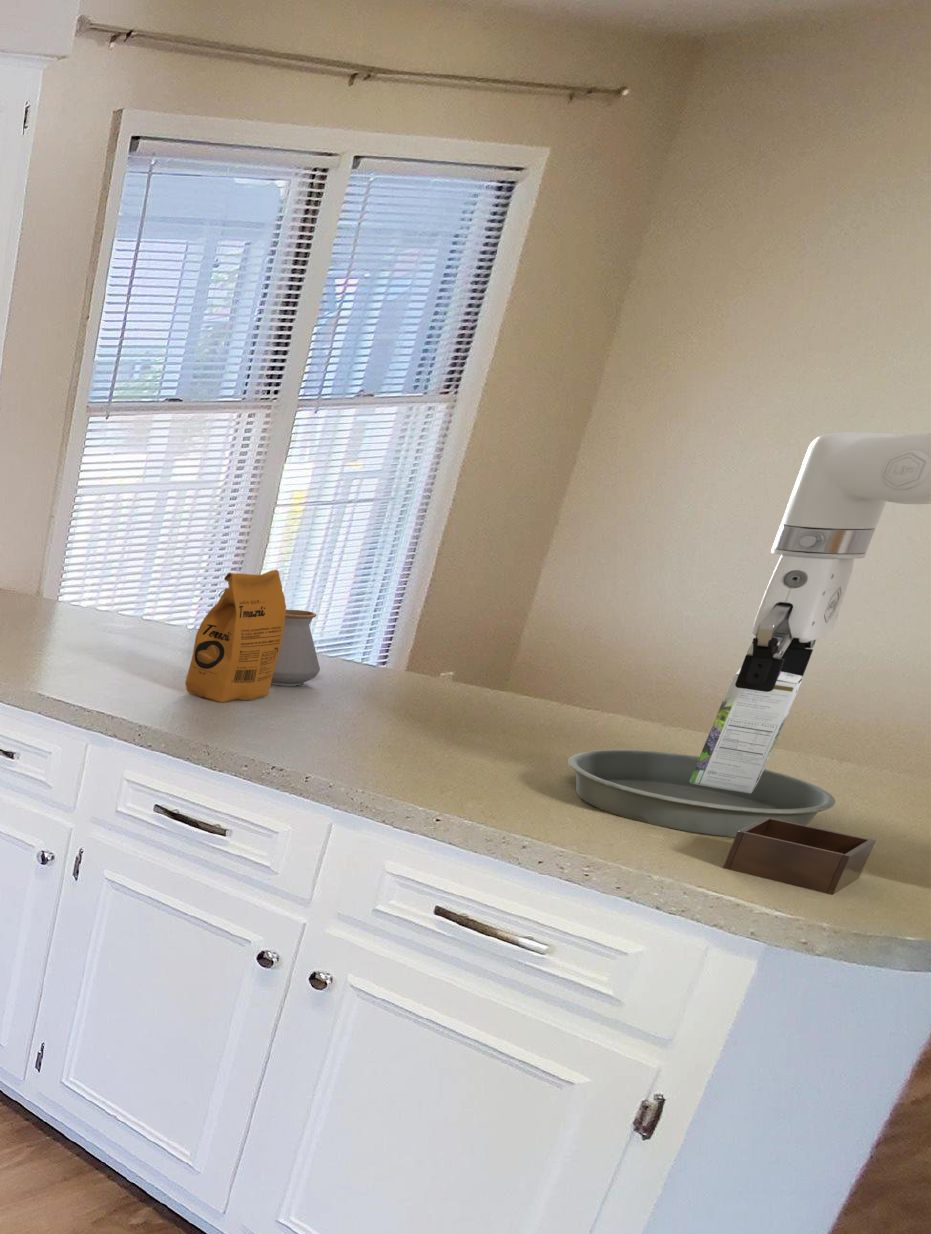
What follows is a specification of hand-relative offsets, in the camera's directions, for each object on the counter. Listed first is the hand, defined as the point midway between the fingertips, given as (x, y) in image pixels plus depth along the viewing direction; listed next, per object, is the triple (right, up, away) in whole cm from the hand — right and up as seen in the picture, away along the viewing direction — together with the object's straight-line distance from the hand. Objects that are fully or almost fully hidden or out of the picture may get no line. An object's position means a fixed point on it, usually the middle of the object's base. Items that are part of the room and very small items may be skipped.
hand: (767, 684), depth 143 cm
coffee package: (-24, +6, +66) cm, 70 cm away
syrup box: (0, -12, +5) cm, 13 cm away
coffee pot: (-10, +11, +79) cm, 80 cm away
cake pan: (0, -16, +10) cm, 18 cm away
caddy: (-12, -24, -13) cm, 30 cm away
